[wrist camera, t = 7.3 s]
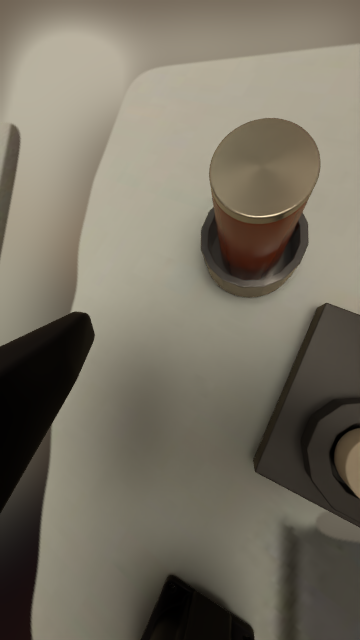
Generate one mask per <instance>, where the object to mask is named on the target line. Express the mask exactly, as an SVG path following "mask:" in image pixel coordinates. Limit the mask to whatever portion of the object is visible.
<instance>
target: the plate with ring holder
mask: <svg viewBox="0 0 360 640" xmlns="http://www.w3.org/2000/svg"><path fill="white" fill-rule="evenodd" d="M357 428H360V315H359V314H356V313H353V312H350V311H348V310H345V309H342V308H339V307H337V306H334V305H331V304H328V303H325V304H323V305H321V306H320V307H318V308H317V311H316V313H315V315H314V318H313V320H312V322H311V325H310V327H309V330H308V332H307V334H306V337H305V339H304V341H303V344H302V346H301V348H300V351H299V353H298V356H297V358H296V360H295V363H294V365H293V367H292V370H291V372H290V374H289V377H288V379H287V382H286V384H285V386H284V389H283V391H282V393H281V396H280V398H279V400H278V403H277V405H276V408H275V410H274V412H273V415H272V417H271V419H270V422H269V424H268V426H267V429H266V431H265V434H264V436H263V438H262V441H261V443H260V445H259V448H258V450H257V452H256V455H255V457H254V460H253V462H254V469H255V472H257V473H258V474H260V475H262V476H264V477H266V478H268V479H270V480H272V481H273V482H275V483H277V484H279V485H281V486H283V487H285V488H287V489H288V490H290V491H292V492H294V493H296V494H298V495H300V496H302V497H303V498H305V499H307V500H309V501H311V502H313V503H315V504H317V505H319V506H320V507H322V508H324V509H326V510H328V511H330V512H332V513H334V514H336V515H338V516H339V517H341V518H343V519H345V520H347V521H349V522H350V523H353V524H355V525H356V526H358V527H360V499H359V498H358V497H357V496H356V495H355V493H354V492H353V491H352V490H351V489H350V487H349V486H348V485H347V484H346V483H345V482H344V480H343V479H342V478H341V476H340V475H339V473H338V471H337V469H336V466H335V462H334V452H335V448H336V445H337V443H338V441H339V440H340V438H341V437H342V436H343V435H344V434H346V433H347V432H349V431H351V430H354V429H357Z"/></svg>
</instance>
